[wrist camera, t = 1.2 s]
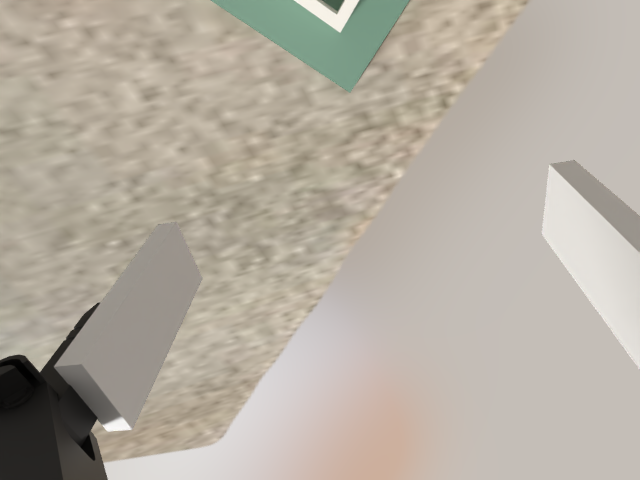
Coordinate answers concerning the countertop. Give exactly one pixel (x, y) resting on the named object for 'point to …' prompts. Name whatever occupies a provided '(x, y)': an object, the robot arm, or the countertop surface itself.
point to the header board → (323, 30)
